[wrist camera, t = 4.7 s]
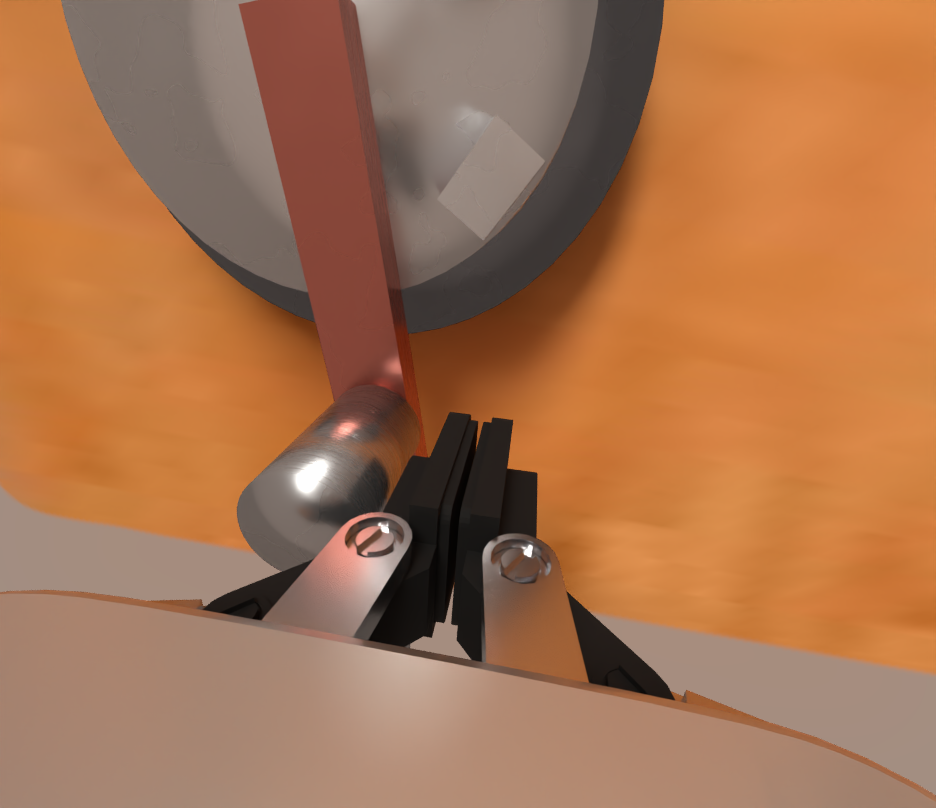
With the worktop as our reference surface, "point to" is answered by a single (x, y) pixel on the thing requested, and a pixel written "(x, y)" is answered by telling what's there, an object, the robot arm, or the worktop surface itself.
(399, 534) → the robot arm
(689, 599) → the worktop surface
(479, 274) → the gray plate
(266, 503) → the crank handle wheel
